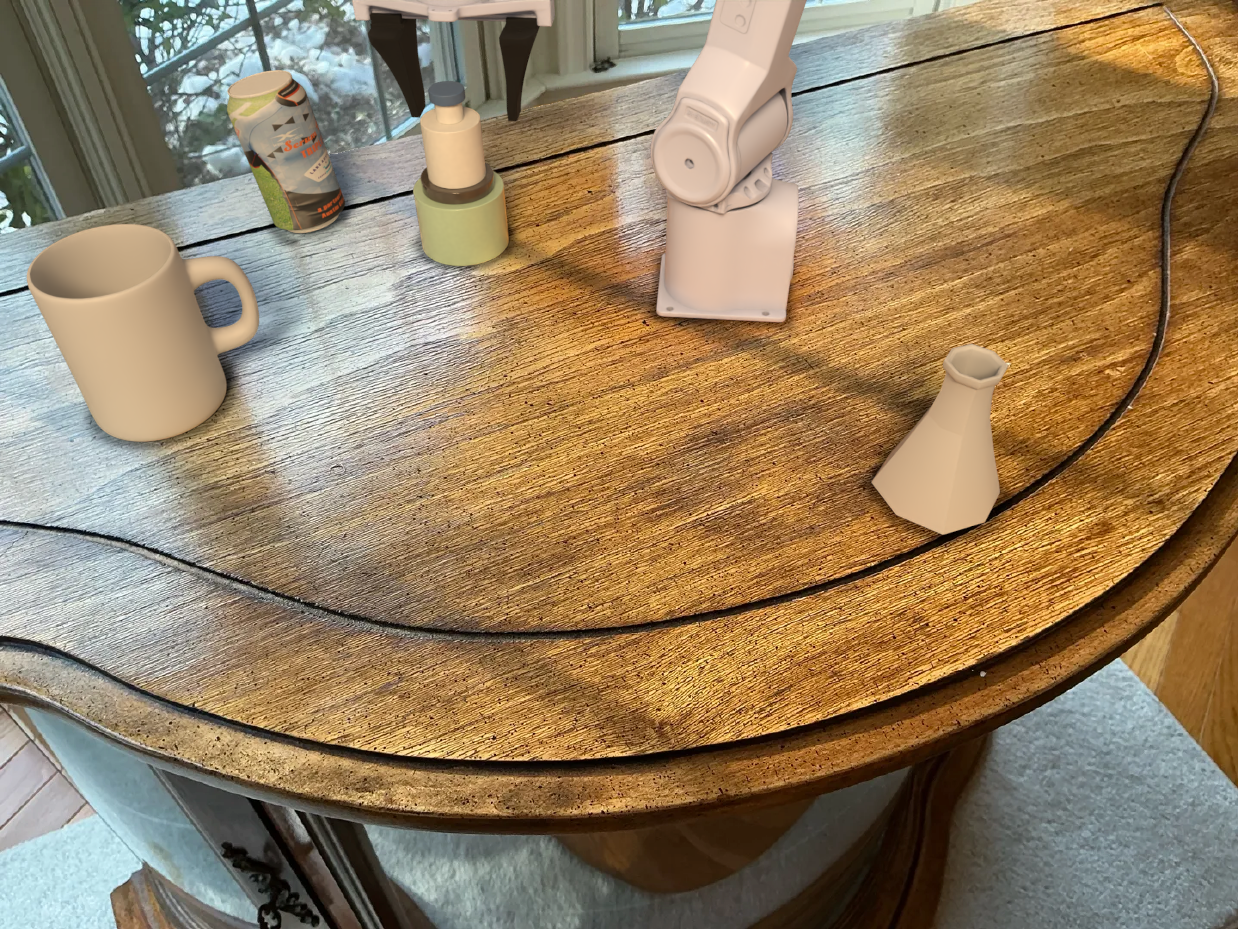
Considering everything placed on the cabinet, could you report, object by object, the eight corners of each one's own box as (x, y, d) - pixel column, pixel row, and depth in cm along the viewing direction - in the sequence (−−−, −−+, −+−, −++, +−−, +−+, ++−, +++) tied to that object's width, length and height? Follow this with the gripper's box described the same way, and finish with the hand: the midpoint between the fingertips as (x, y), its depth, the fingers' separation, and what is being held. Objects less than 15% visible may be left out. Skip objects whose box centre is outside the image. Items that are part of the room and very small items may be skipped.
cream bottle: (490, 161, 77) (482, 76, 72) (480, 190, 74) (470, 102, 69) (435, 159, 77) (423, 73, 72) (422, 187, 74) (408, 100, 69)
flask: (925, 433, 64) (963, 306, 57) (1020, 497, 60) (1074, 368, 53) (849, 483, 60) (879, 355, 53) (944, 554, 56) (990, 426, 49)
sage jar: (515, 221, 82) (509, 154, 78) (500, 268, 77) (493, 199, 73) (432, 217, 83) (422, 150, 78) (413, 264, 78) (401, 195, 73)
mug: (103, 460, 62) (29, 318, 54) (87, 382, 67) (17, 243, 60) (292, 401, 66) (249, 261, 58) (263, 333, 71) (219, 196, 64)
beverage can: (331, 246, 79) (296, 102, 71) (246, 236, 80) (202, 93, 72) (360, 206, 84) (331, 66, 75) (280, 197, 85) (242, 58, 76)
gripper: (324, -60, 66) (362, 133, 75) (540, -54, 65) (551, 140, 74) (354, -92, 71) (385, 93, 80) (554, -87, 70) (562, 99, 79)
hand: (466, 113), depth 78 cm, fingers open, 7 cm apart
